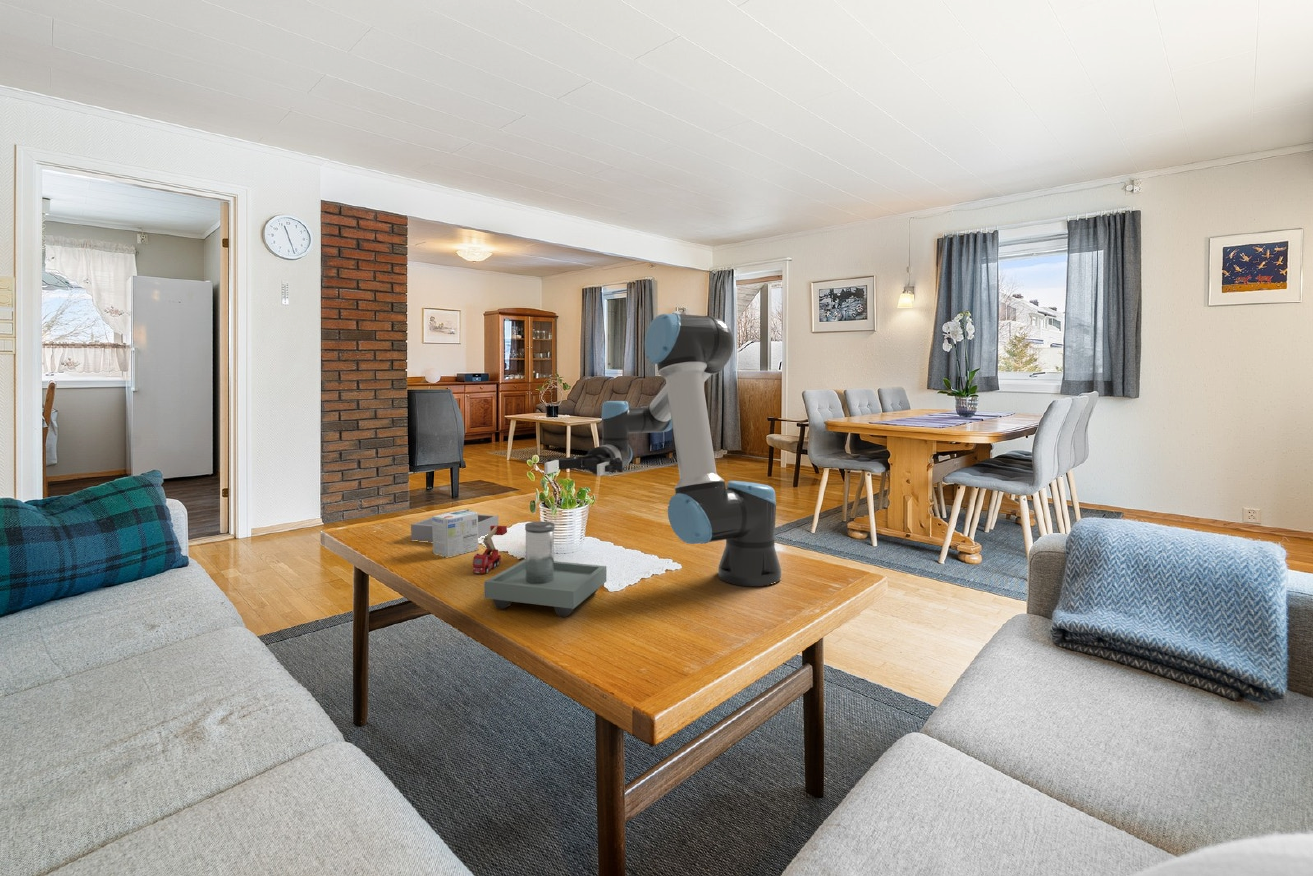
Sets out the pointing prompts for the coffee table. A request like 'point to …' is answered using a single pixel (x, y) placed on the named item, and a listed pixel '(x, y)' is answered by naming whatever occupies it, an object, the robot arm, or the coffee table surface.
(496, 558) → the toy fire truck
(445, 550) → the light bulb box
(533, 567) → the canister
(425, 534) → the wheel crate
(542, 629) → the coffee table surface
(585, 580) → the dolly
